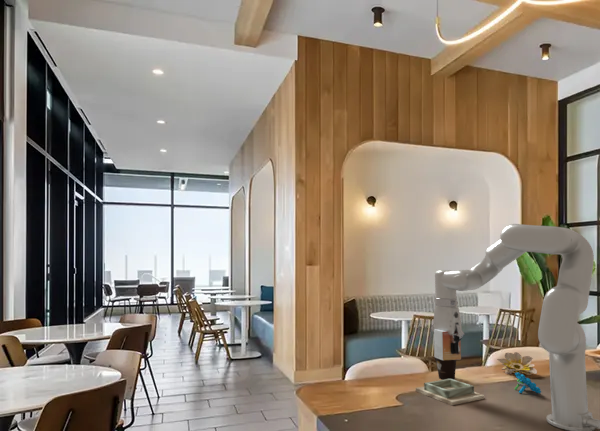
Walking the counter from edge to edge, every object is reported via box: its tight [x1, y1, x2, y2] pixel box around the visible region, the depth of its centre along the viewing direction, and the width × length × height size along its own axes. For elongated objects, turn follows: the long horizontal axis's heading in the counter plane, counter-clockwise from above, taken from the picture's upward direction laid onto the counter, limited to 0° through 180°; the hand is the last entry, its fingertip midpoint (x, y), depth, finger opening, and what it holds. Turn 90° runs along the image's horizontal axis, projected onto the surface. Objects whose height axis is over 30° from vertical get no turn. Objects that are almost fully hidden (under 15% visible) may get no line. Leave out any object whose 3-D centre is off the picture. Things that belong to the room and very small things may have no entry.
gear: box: [514, 372, 542, 394], centre depth 163 cm, size 11×6×10 cm
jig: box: [415, 379, 485, 406], centre depth 160 cm, size 18×16×4 cm
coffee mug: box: [434, 357, 457, 380], centre depth 184 cm, size 12×9×10 cm
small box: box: [433, 329, 462, 361], centre depth 162 cm, size 8×6×10 cm
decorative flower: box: [496, 352, 538, 376], centre depth 189 cm, size 15×11×10 cm
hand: (447, 351), depth 162 cm, fingers closed on small box, 6 cm apart
